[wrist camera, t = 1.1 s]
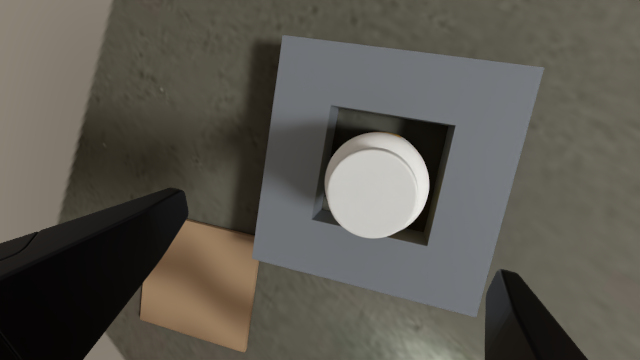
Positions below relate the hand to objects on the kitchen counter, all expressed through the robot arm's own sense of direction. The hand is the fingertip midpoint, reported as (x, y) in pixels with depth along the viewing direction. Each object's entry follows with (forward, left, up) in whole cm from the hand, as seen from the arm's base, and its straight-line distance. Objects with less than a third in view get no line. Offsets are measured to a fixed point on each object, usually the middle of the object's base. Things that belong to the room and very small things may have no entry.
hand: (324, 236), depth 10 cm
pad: (-12, +12, -15) cm, 23 cm away
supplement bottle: (0, -1, -16) cm, 16 cm away
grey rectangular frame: (0, -1, -15) cm, 15 cm away
